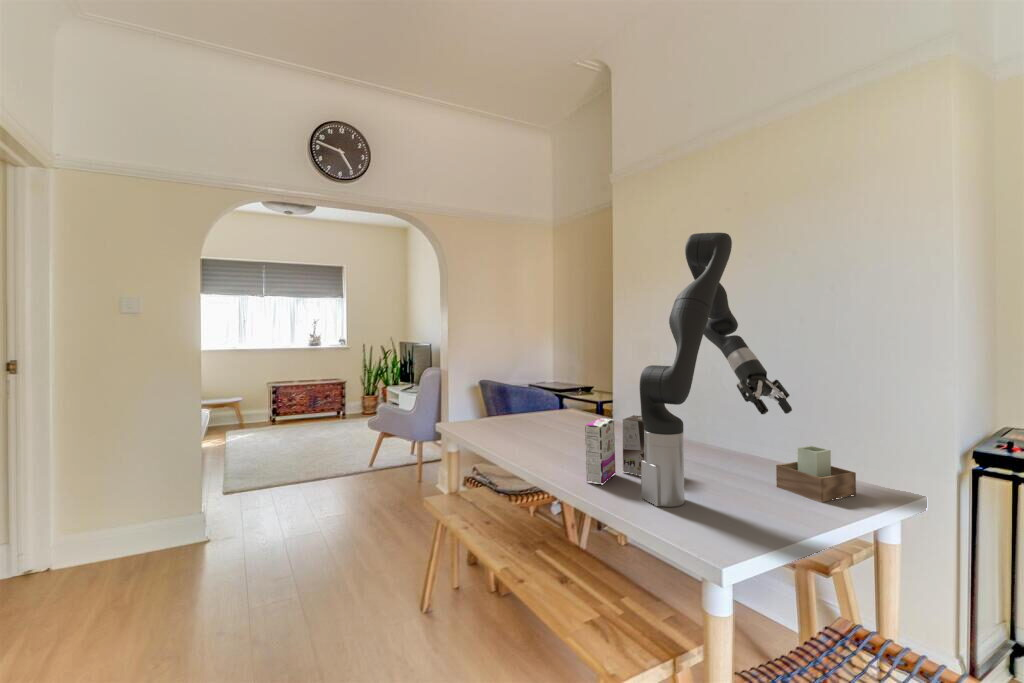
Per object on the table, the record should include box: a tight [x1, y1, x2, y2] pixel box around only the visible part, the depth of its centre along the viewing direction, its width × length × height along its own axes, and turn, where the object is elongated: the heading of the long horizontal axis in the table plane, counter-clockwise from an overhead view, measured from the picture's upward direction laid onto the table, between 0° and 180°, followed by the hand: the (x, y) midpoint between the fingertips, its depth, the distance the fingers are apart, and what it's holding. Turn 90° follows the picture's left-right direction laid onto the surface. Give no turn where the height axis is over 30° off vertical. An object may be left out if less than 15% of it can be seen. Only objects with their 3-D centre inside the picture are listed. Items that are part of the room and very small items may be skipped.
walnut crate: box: [775, 461, 857, 503], centre depth 113 cm, size 12×12×6 cm
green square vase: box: [797, 445, 832, 477], centre depth 113 cm, size 5×5×10 cm
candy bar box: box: [584, 417, 616, 483], centre depth 125 cm, size 11×5×16 cm, turn 148°
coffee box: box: [622, 414, 644, 476], centre depth 132 cm, size 9×6×16 cm
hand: (777, 412), depth 121 cm, fingers open, 8 cm apart
